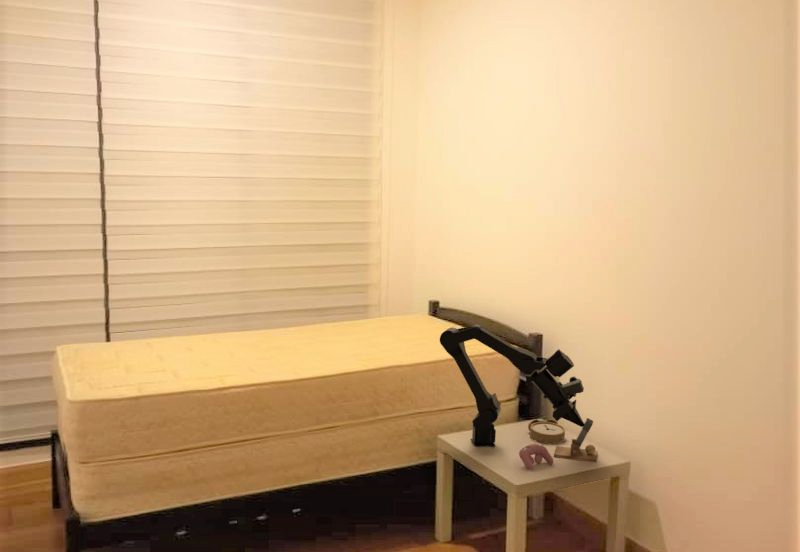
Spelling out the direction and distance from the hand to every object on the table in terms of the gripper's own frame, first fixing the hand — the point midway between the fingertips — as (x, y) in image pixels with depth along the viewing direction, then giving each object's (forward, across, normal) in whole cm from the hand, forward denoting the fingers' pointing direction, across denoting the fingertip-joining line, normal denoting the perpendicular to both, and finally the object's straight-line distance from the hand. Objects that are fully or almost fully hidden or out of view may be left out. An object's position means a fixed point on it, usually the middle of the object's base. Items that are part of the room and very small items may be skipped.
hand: (583, 425), depth 227 cm
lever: (+4, 0, +7) cm, 8 cm away
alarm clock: (-2, +15, +16) cm, 22 cm away
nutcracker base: (+5, 0, +8) cm, 10 cm away
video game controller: (-2, -13, +16) cm, 20 cm away
